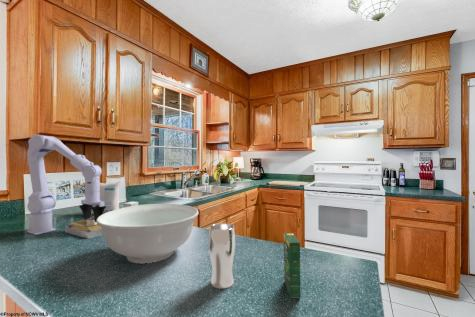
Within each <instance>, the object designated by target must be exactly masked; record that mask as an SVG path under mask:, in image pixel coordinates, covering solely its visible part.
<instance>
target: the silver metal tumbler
mask: <svg viewBox="0 0 475 317" xmlns="http://www.w3.org/2000/svg"><path fill="white" fill-rule="evenodd" d="M208 231H209V232H208V233H209V234H208V250H209V257H210V262H211V270H212V271H211V279H210V285H211V287H213V288H216V289H219V290H222V289H224V290H225V289H228V288H230V287H232V286H233V285H234V282H235V280H234V276H233V262H234V258H235V257H234V256H235V251H236V234H235V225H234V224H231V223H225V222H223V223H222V222H220V223H219V222H217V223H214V224H211V225H209V230H208Z"/></svg>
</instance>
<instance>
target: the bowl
mask: <svg viewBox="0 0 475 317" xmlns="http://www.w3.org/2000/svg"><path fill="white" fill-rule="evenodd" d="M198 216H199V210H198V209H197V208H195V207H193V206H190V205H186V204H179V203H178V204H177V203H149V204H148V203H147V204H138V205H137V206H130V207H125V208H123V207H121V208H120V207H119V209H116V210H112V211H109V212H103V214H102V215H101V216H99V217H98V218H97V221H96V222H97V224H98V225H99V226H100V227H101V228H102V231H103V234H102V235H103V238H104V240H105V243H106V245H107V246H108V247H109V248H110V249H111V250H112V251H113V252H115V253H116V254H118V255H122V256H125V257H126V258H127V260H128V262H130V263H134V264H138V263H139V265H140V264H141V265H144V264H145V263H147V264H153V263H152V262H154V263H158V262H162V261H165V260H166V259H168V258H170V257H171V256H172V255H173V254H174V252H175V250H177V249H178V248H180V247H181V246H183V245H184V244H185V243H186V242H187V241H188V240H189V238H190V236H191V234H192V231H193V227H194V223H195V219H196V218H197V217H198ZM161 260H162V261H161ZM157 261H158V262H157Z"/></svg>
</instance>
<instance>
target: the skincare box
mask: <svg viewBox="0 0 475 317" xmlns="http://www.w3.org/2000/svg"><path fill="white" fill-rule="evenodd" d="M122 205H123V207H122V208H125V207H130V206H137V205H139V201H128V202H127V201H126V202H125V203H123V204H122Z"/></svg>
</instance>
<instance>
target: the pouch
mask: <svg viewBox="0 0 475 317" xmlns="http://www.w3.org/2000/svg"><path fill="white" fill-rule="evenodd" d="M120 183H121V182H120V181H117V182H113V183H111V182H110V183H105V182H100V200H101V201H103V202H104V206H106V208H105V209H104V211H103V213H107V212H109V211H112V210H116V209H120V185H121V184H120ZM93 207H95V205H93Z"/></svg>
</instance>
